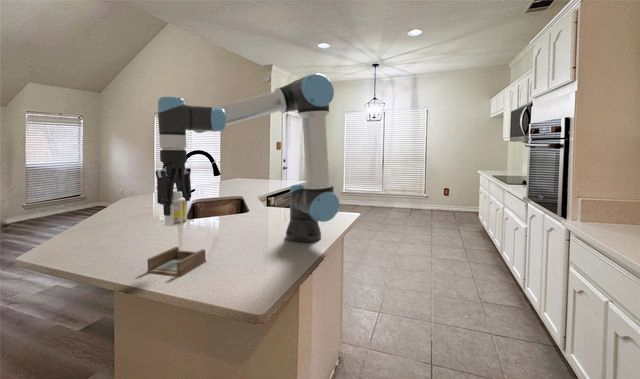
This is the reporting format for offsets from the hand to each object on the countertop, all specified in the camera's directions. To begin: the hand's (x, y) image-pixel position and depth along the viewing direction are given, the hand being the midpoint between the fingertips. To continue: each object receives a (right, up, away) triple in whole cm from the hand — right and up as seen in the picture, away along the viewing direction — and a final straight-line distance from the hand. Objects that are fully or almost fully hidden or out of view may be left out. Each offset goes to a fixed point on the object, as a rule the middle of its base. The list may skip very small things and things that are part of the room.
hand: (176, 223), depth 104 cm
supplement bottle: (0, 0, 0) cm, 1 cm away
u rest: (0, -14, +2) cm, 14 cm away
